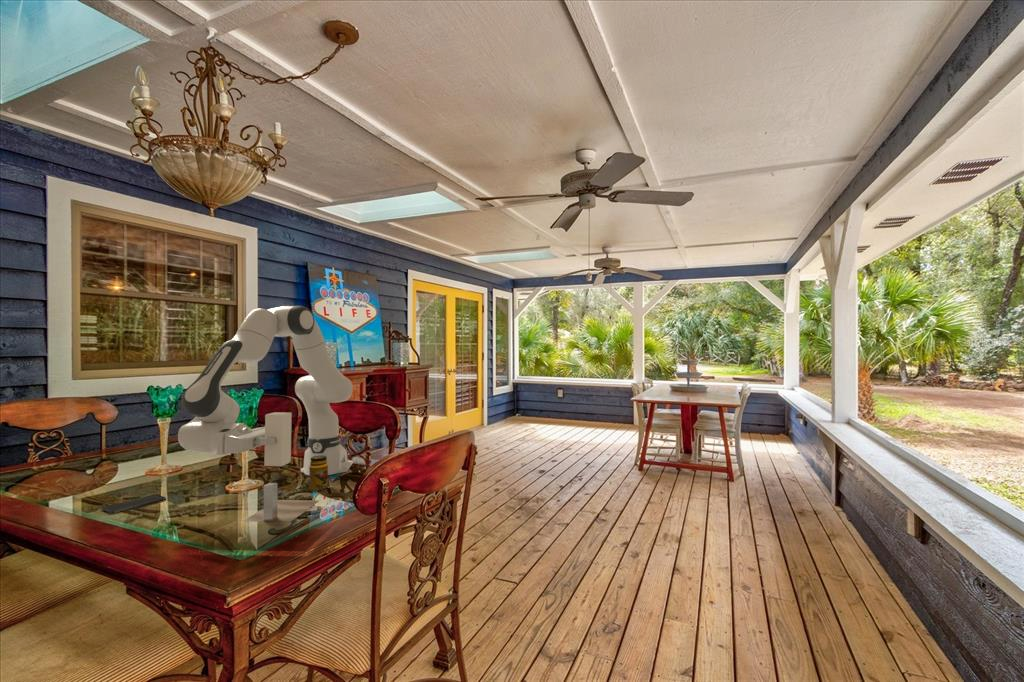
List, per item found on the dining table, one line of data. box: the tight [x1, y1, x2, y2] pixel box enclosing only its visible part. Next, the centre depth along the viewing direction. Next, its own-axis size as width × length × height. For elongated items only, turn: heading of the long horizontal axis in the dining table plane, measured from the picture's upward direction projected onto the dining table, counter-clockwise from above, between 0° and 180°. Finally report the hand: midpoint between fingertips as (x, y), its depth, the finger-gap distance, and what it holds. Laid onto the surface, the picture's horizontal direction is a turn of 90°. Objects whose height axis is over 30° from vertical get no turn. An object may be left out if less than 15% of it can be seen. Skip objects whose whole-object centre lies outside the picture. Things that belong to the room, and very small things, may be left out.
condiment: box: [308, 455, 329, 492], centre depth 165 cm, size 7×8×12 cm
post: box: [263, 482, 278, 521], centre depth 136 cm, size 3×3×10 cm
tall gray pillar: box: [263, 411, 293, 467], centre depth 140 cm, size 5×5×15 cm
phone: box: [101, 494, 167, 514], centre depth 151 cm, size 8×1×15 cm
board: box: [243, 499, 319, 523], centre depth 143 cm, size 18×14×1 cm
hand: (281, 438), depth 140 cm, fingers closed on tall gray pillar, 5 cm apart
